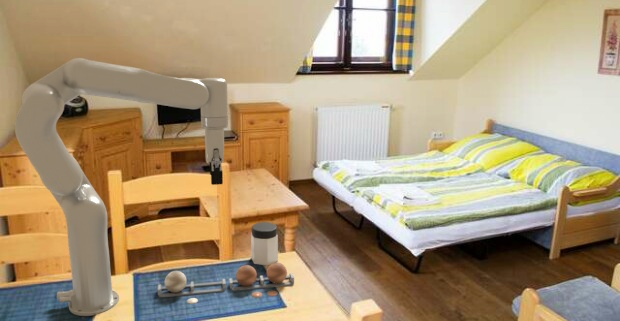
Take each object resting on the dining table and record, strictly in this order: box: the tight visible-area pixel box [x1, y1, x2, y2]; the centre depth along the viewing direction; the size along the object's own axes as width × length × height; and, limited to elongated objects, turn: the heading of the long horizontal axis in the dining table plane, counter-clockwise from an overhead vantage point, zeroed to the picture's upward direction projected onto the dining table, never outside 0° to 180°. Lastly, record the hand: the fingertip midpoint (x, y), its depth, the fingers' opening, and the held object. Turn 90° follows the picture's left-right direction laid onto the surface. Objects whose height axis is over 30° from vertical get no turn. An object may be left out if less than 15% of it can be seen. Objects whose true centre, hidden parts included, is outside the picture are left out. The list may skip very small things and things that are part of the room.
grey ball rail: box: [157, 272, 295, 298], centre depth 148 cm, size 39×5×2 cm, turn 103°
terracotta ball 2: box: [266, 262, 288, 284], centre depth 150 cm, size 6×6×6 cm
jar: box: [250, 221, 279, 266], centre depth 165 cm, size 9×8×12 cm
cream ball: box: [164, 270, 187, 293], centre depth 144 cm, size 6×6×6 cm
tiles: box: [186, 290, 279, 305], centre depth 142 cm, size 29×4×1 cm, turn 103°
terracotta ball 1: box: [235, 264, 258, 286], centre depth 148 cm, size 6×6×6 cm
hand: (216, 179), depth 150 cm, fingers open, 9 cm apart
